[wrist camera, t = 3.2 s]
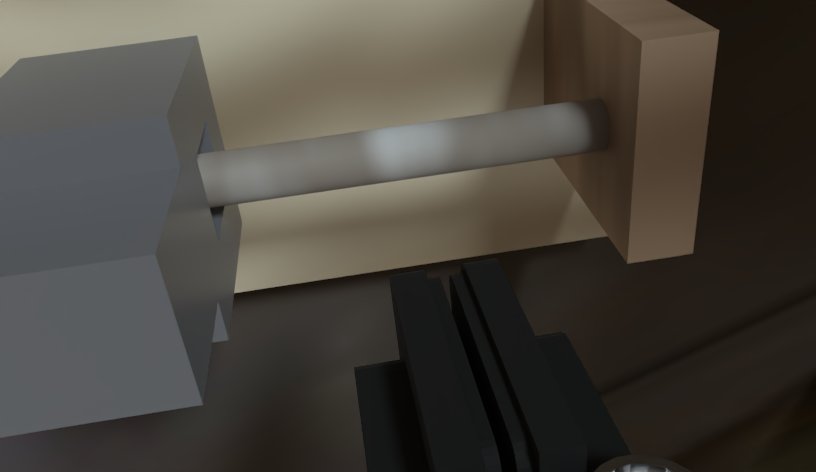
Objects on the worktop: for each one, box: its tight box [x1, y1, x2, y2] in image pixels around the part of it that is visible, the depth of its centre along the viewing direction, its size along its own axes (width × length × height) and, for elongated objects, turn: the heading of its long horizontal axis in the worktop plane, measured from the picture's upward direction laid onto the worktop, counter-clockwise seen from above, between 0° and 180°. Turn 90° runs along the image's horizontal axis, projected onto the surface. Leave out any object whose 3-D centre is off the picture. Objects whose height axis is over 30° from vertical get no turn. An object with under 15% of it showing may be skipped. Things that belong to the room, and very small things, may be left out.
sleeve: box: [0, 36, 242, 437], centre depth 15 cm, size 5×4×8 cm
